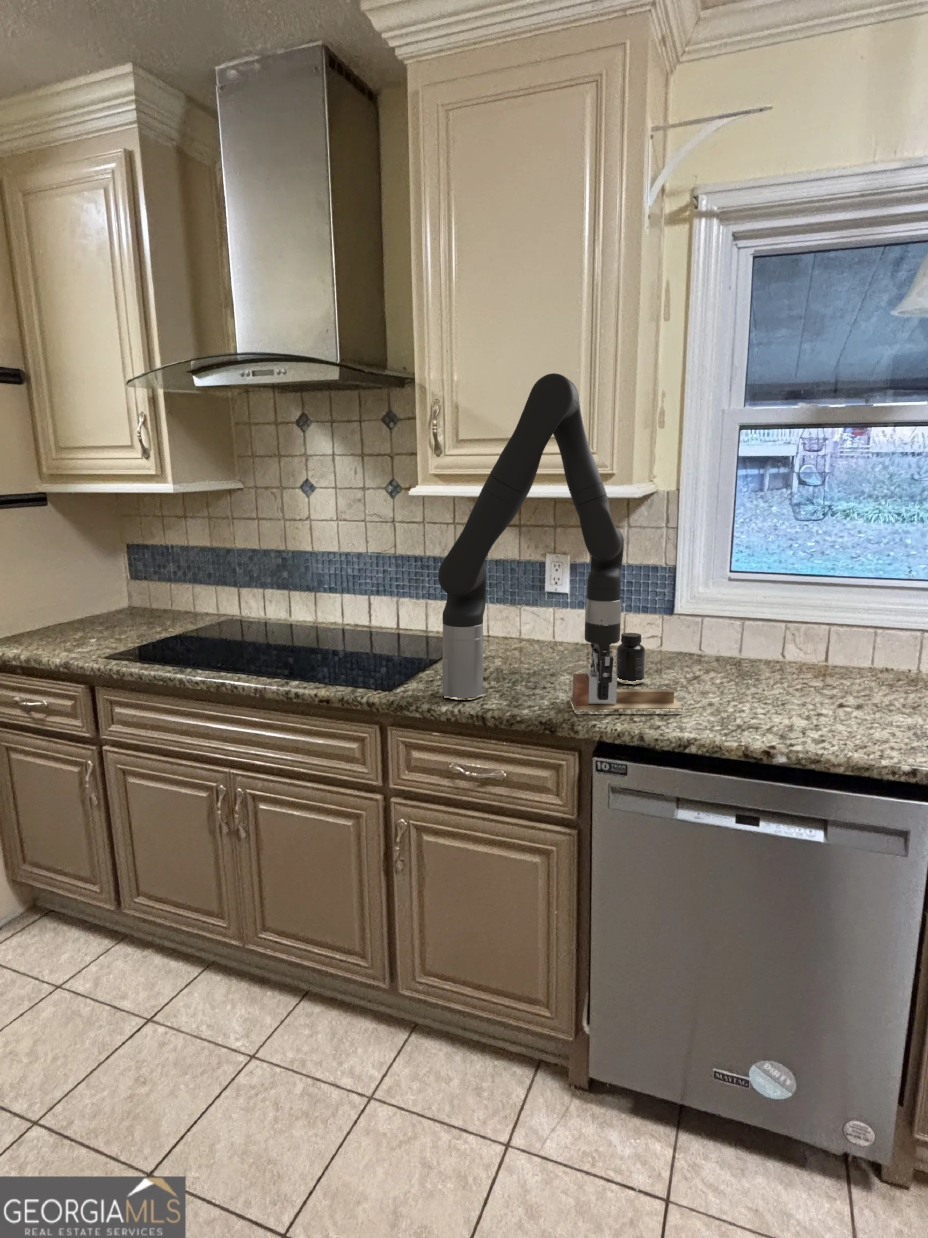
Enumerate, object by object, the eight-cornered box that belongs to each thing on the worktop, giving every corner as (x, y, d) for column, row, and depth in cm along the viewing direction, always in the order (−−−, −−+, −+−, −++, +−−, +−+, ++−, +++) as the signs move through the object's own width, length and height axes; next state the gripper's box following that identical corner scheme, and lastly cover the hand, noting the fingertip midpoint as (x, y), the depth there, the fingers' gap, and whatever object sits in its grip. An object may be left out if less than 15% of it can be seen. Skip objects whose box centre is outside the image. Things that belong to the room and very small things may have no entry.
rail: (574, 714, 155) (575, 683, 154) (569, 701, 164) (569, 671, 163) (682, 714, 155) (684, 683, 154) (671, 701, 164) (672, 671, 162)
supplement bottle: (639, 677, 183) (641, 631, 180) (647, 685, 176) (649, 637, 173) (612, 678, 182) (614, 631, 180) (619, 686, 176) (621, 637, 173)
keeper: (588, 703, 156) (589, 676, 155) (584, 695, 162) (585, 669, 161) (616, 703, 156) (617, 676, 155) (611, 695, 162) (612, 669, 161)
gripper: (580, 613, 163) (578, 685, 166) (590, 626, 149) (588, 705, 152) (613, 613, 163) (611, 685, 166) (627, 626, 149) (624, 705, 152)
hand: (600, 694), depth 159 cm, fingers closed on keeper, 5 cm apart
